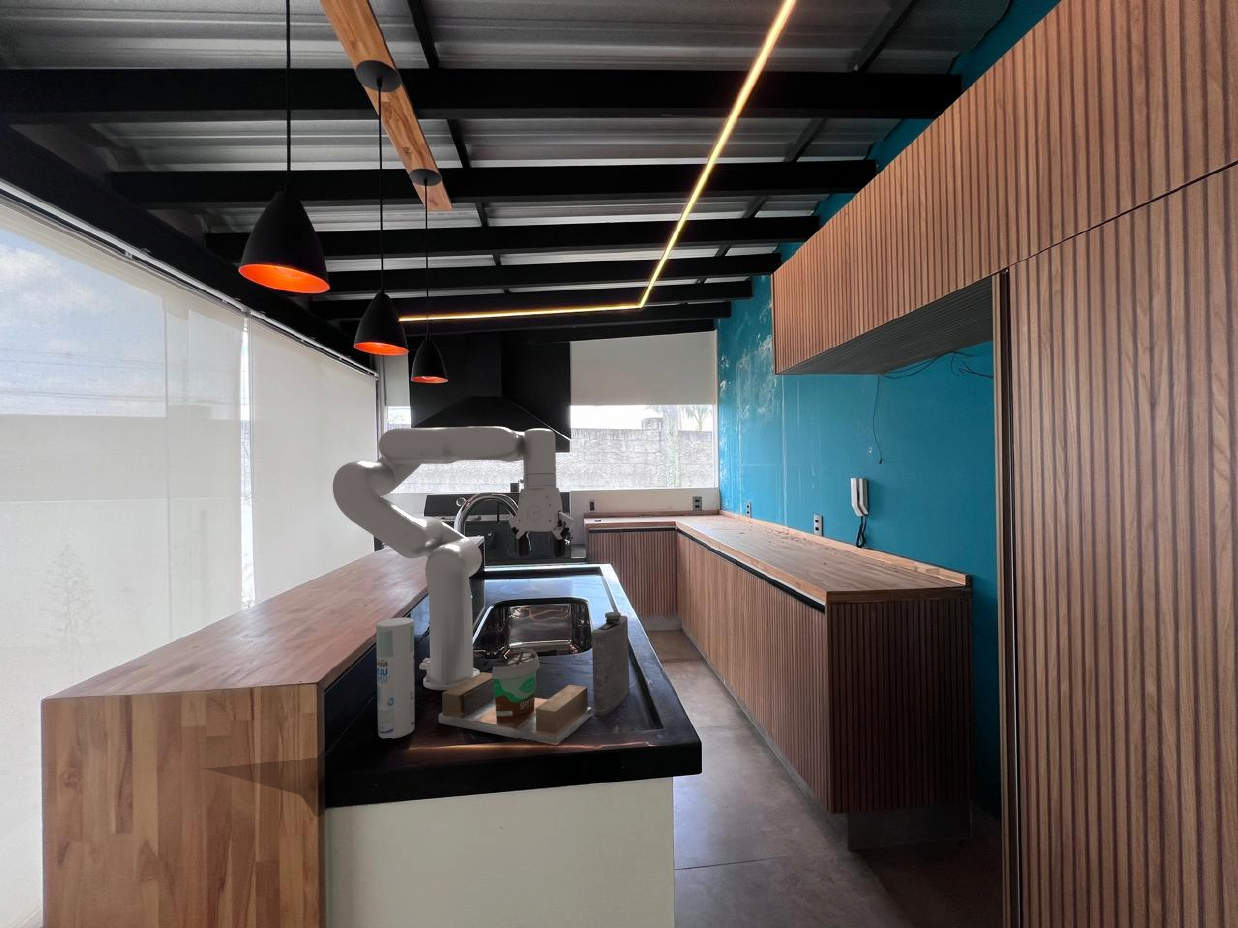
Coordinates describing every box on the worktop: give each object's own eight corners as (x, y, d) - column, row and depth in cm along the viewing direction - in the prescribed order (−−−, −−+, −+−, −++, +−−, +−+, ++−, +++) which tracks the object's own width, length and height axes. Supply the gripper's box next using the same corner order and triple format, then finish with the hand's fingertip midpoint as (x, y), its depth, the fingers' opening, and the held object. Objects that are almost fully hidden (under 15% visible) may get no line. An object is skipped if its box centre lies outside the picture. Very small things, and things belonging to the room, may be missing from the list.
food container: (523, 726, 96) (522, 669, 96) (492, 723, 98) (491, 667, 98) (550, 699, 108) (549, 648, 108) (522, 696, 110) (521, 647, 110)
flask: (634, 689, 116) (632, 605, 117) (608, 716, 103) (606, 622, 104) (619, 687, 118) (616, 604, 118) (591, 714, 104) (588, 620, 105)
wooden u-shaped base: (438, 722, 103) (438, 693, 103) (482, 697, 114) (481, 670, 115) (556, 746, 92) (556, 713, 92) (591, 715, 104) (590, 686, 104)
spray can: (421, 730, 100) (419, 621, 100) (385, 742, 95) (384, 628, 96) (406, 719, 104) (405, 615, 105) (371, 731, 100) (370, 622, 100)
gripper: (499, 483, 126) (501, 557, 125) (564, 481, 119) (566, 559, 118) (518, 483, 133) (519, 552, 132) (580, 481, 126) (582, 554, 125)
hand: (541, 555), depth 125 cm, fingers open, 9 cm apart
